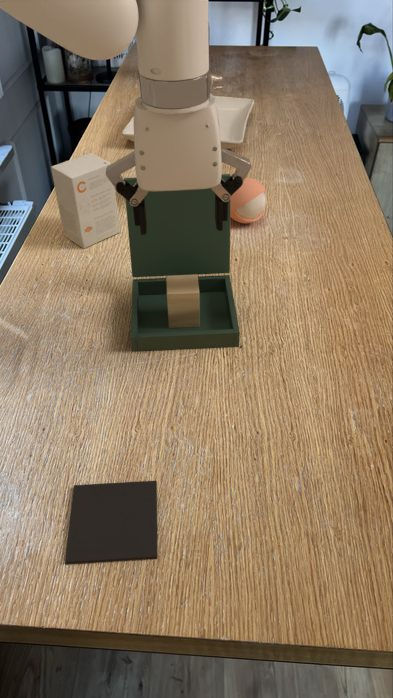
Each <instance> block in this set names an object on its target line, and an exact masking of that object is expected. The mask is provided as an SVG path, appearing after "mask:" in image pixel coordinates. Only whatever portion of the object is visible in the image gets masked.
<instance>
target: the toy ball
mask: <svg viewBox="0 0 393 698" xmlns="http://www.w3.org/2000/svg"><path fill="white" fill-rule="evenodd" d="M266 190H267V188H266V187H265V186H264V184H263V183H262V182H260V181H259V180H257V179H255V178H252V177H246V178H245V179H244V181H243V184H242V186H241V187H240V188H239V189H238V190H237V191H236V192H235V193H234V194H233V195H232V196H231V198H230V219H232V220H234V221H235V222H237V223H240V224H251V223H255V222H257V221H259V220H261V218H262V217H263V216H264V214H265V210H266V207H267V195H266V193H265V191H266Z"/></svg>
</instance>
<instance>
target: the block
mask: <svg viewBox="0 0 393 698" xmlns="http://www.w3.org/2000/svg"><path fill="white" fill-rule="evenodd" d="M198 276H199V275H197V274H196V275H173V276H165V278H166V283H167V305H168V323H169V328H183V327H200V302H199V284H198Z"/></svg>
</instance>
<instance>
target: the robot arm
mask: <svg viewBox="0 0 393 698" xmlns="http://www.w3.org/2000/svg"><path fill="white" fill-rule="evenodd" d="M0 9H1V10H2V11H3V12H5V13H7V14H8V15H10V16H11V17H13V18H14V19H16V20H17V21H18V22H20V23H22V24H24V25H25V26H27V27H28V28H30V29H32V30H33V31H34V32H37V33H39V34H40V35H42V36H43V37H45V38H47V39H48V40H50V41H52V42H53V43H55V44H57V45H58V46H59V47H62V48H64V49H65V50H67V51H69V52H71V53H72V54H74V55H75V56H76V55H77V56H78V57H82V58H84V59H88V60H91V61H92V60H93V61H105V60H106V61H107V60H110V59H113V58H117V56H120V55H121V54H123V53H124V52H125V51H126V50H127V49H128V48H129V47H130V45H131V44H132V42H133V40H134V38H135V41H136V55H137V64H138V65H137V66H138V79H139V91H140V96H139V97H137V98H136V99H135V101H134V107H133V108H134V109H133V116H134V141H133V151H131V152H129V153H127V154H126V155H124V156H123V157H121V158H119V159H117V160H115V161H114V162H111V163H112V164H110V165H109V166H107V168H106V176H107V177H108V179H109V180H110V182H111V183H112V185H113V186H114V187H115V192H117V193H118V195H120V196H121V197H123V198H124V199H125V200H126V199H127V200H128V201H129V202H130V204H131V205H132V206H133V212H134V222H135V226H140V229H141V235H145V234H147V220H146V209H145V199H144V197H145V196H146V195H147V194H148V192H149V191H178V190H197V189H208V188H211V189H212V190H213V191H214V193H215V222H216V228H217V230H218V231H223V221H227V220H228V201H229V200H230V198H231V196H232V195H233V194H234V193H235V192H236V191H237V190H238V189H239V188H240V187H241V186H242V184H243V181H244V179H245V178H247V176H248V174H249V173H250V171H251V169H252V163H251V161H250V159H249V158H247V157H245V156H242V155H240V154H238V153H236V152H234V151H232V150H230V149H225V148H223V147H221V139H220V127H219V119H218V110H217V104H216V100H215V97H214V96H215V95H213V94H212V93H213V91H215V90H216V89H223V87H224V85H223V83H224V79H223V74H216V73H212V70H210V19H209V0H0ZM222 163H224V164H226V165H228V166H230V167H232V168H235V170H234V172H233V173H232V175H231V177H230V178H229V179H228V180H227V181H226V182H225V181H224V180H223V179H222V178H221V174H223V170H222V169H223V168H222V167H223V165H222ZM133 168H135V169H134V170H135V177H137V182H136V183H135V184H134V186H132V185H131V184H129V183H128V182H127V181H126V180H124V177H123V176H122V174H124V173H126V172H127V171H129V170H131V169H133Z"/></svg>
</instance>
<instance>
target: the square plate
mask: <svg viewBox="0 0 393 698" xmlns="http://www.w3.org/2000/svg"><path fill="white" fill-rule="evenodd" d="M213 96H214V97H215V100H216V104H217V110H218V119H219V127H220V139H221V147H223V148H225V149H227V150H230V149H231V150H232V149H235V148H238V147H239V146H240V145H241V144H243V141H244V138H245V134H246V128H247V123H248V121H249V117H250V114H251V112H252V109H253V107H254V105H255V99H253V98H244V97H235V96H234V97H232V96H223V95H221V96H220V95H213ZM121 135H122V136H124V137H125V138H126V139H127V140H129V141H131V142H134V115H133V116H132V117H131V118H130V120H129V121H128V123H127V124H126V125H125V127H124V129H122V132H121Z"/></svg>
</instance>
